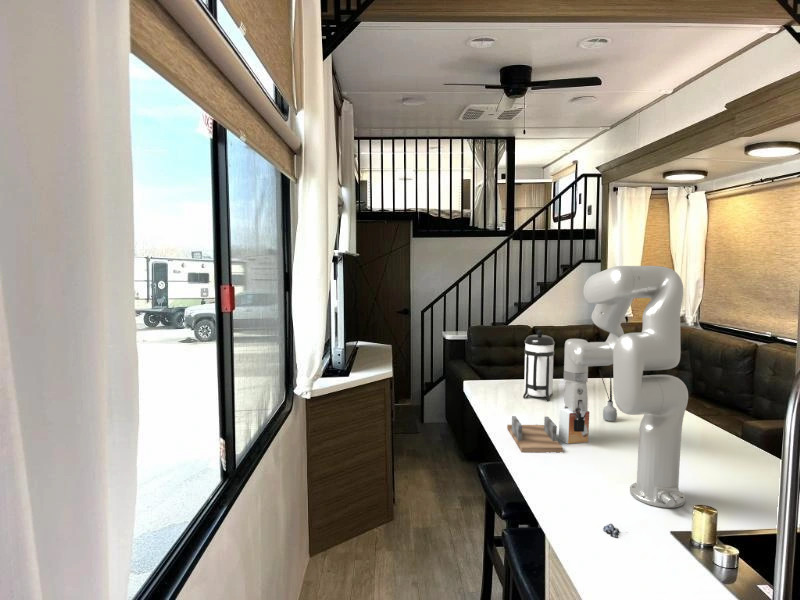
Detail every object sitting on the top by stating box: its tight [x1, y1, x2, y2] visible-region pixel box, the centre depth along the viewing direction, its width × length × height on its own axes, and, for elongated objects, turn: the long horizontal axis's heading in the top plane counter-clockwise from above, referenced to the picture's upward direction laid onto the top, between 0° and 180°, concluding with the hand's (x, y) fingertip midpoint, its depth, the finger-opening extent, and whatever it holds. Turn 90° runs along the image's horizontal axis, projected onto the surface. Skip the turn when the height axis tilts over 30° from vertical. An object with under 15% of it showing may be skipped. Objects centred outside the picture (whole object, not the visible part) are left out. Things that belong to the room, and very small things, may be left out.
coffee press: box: [522, 329, 556, 402], centre depth 220 cm, size 17×16×30 cm
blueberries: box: [602, 523, 628, 539], centre depth 112 cm, size 7×8×2 cm
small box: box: [558, 408, 590, 445], centre depth 169 cm, size 8×6×10 cm
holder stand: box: [506, 415, 564, 454], centre depth 169 cm, size 22×13×6 cm, turn 179°
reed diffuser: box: [598, 367, 618, 422], centre depth 190 cm, size 10×7×20 cm
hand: (573, 426), depth 169 cm, fingers open, 9 cm apart
